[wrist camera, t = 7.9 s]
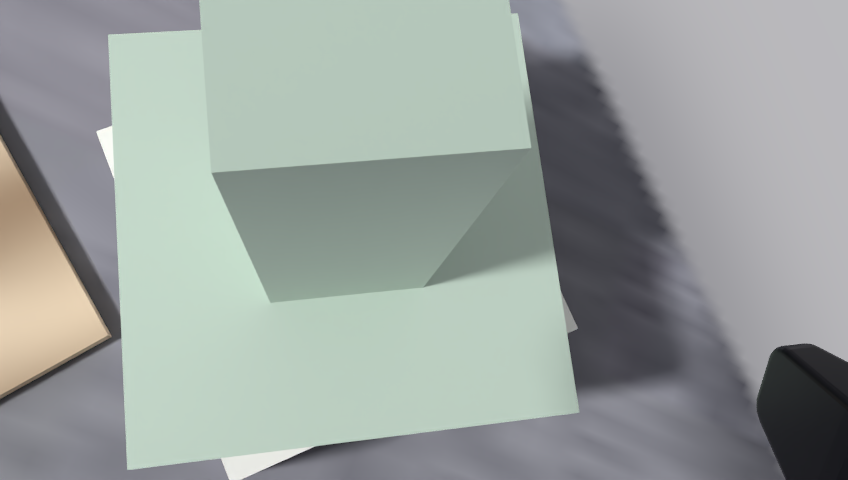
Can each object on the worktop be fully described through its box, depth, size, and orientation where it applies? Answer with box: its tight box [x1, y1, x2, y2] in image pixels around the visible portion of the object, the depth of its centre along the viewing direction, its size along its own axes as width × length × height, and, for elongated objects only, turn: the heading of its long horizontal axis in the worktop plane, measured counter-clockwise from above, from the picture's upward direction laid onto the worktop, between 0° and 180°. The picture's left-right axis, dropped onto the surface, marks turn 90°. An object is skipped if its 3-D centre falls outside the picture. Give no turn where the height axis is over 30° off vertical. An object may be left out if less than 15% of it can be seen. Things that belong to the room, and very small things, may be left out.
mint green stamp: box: [108, 0, 579, 470], centre depth 14 cm, size 10×10×11 cm
